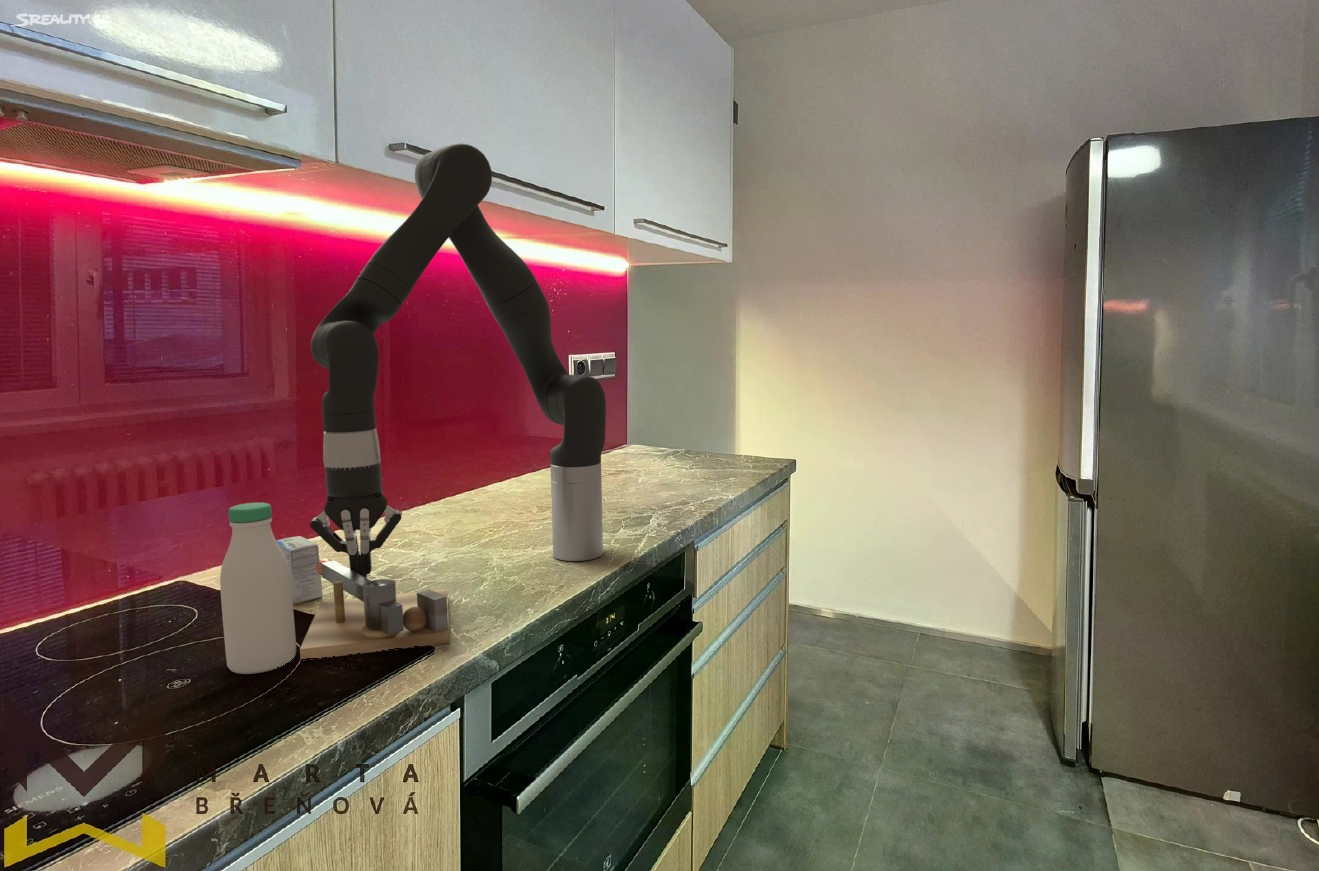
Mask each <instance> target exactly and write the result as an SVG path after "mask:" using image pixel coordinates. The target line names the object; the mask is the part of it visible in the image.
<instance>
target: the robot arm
mask: <svg viewBox="0 0 1319 871" xmlns="http://www.w3.org/2000/svg"><path fill="white" fill-rule="evenodd" d="M492 181H493V173H492V167H491V165H490V162H489V160H488V158H487V157H486V155H485V154H484V153H483V151H481V150H480V149H478V148H477V147H475V146H473V145H472V144H468V143H453V144H452V143H451V144H448V145H445V146H444V147H441V148H438V149H434V150H432V151H429V152H428V153H425V154H424V155H422V156H421V157H420V158H419V159H418V161H417V162H416V166H415V167H414V182H415V186H416V189H417V191H418V193H419V196H420V198H421V201H420V202H419V203H418V205H417V206H416V208H415V209H414V210H413V212H412V213H411V214H410V215H409V216H408V217H407V218H406V219H405V220H404V222H402V224H400V225H399V227H398V228H397V229H396V230H395V231H394V232H393V233H392V234H391V235H390V236H388V238H386V240H385V241H384V242H383V243H382V244H381V245H380V246H379V247H378V248H377V250H376V251H375V252H374V253H373V255H372V256H371V257H370V258H369V260H368V261H367V263H366V264H365V266H364V267H363V268H362V270H361V271H360V273H359V275H358V276H357V277H356V280H355V281H354V282H353V284H352V286H351V287H350V289H349V291H348V292H347V293H346V294H345V295H344V296H343V298H342V299H340V300H339V301H338V302H337V304H336V305H335V306H334V307H333V308H332V309H330V311H329V312H328V313H327V314H326V315H325V317H324V318H323V319H322V320H321V321H320V323H319V324H318V325H317V327H316V329H315V331H314V332H313V335H312V337H311V341H310V352H311V356H312V357H313V359H314V360H315V362H316V363H317V364H318V365H320V366H321V367H322V368H325V370H328V390H327V391H326V392H324V394H323V395H322V398H321V412H322V414H321V416H322V425H323V426H322V427H323V443H322V450H323V451H322V452H323V453H322V454H323V456H322V460H323V461H322V462H323V465H324V466H323V467H324V474H325V475H324V478H325V479H324V480H325V488H326V502H325V504H324V506H323V511H322V512H321V513H320V514H319V515H317V516H315V517H313V518H312V520H311V521H310V522H309V527H310V528H311V529H312V530H313V531H314V532H315V533H316V534H317V535H318V536H319V537H320V538H321V539H322V540H323V541H324V542H325V543H326V544H327V545H328V546H330V547H331V549H333V551H335V552H336V553H346V554H347V555H348V560H349V569H350V570H352V571H354V572H356V573H358V574H360V575H361V576H363V577H365V578H367V579H368V575H370V574H371V571H372V569H373V566H372V551H374V550H376V549H380V548H382V546H383V545H384V543H385V542H386V540H387V539H388V538H389V536H390V535H391V534H392V533H393V531H394V530H395V528H396V527H397V525H398V524H399V523H400V521H401V520H402V516H403V512H402V511H401V510H399V509H394V508H392V507H391V506H390V505H388V500H387V499H386V497H385V495H384V491H383V479H382V478H383V477H382V463H381V449H380V442H379V441H380V440H379V437H378V436H379V435H378V431H377V420H376V419H377V418H376V406H375V405H376V404H375V394H376V389H377V382H378V381H377V380H378V373H379V372H378V371H379V365H380V364H379V363H380V362H379V361H380V360H379V359H380V357H379V356H380V355H379V354H380V353H379V352H380V351H379V346H378V341H377V339H376V337H375V333H376V332H377V330H378V329H379V327H380V326H382V325H384V324H385V323H387V322H389V321H390V320H392V319H393V318H394V317H395V316H396V315H397V313H398V312H399V311H400V309H401V307H402V306H403V305H404V303H405V301H406V299H408V297H409V295H410V294H411V292H412V290H413V289H414V287H415V286H416V284H417V282H418V280H419V279H420V278H421V276H422V274H423V273H424V272H425V270H426V269H427V267H428V265H429V264H430V263H431V261H432V260H433V259H434V257H435V256H436V254H438V252H439V251H440V249H441V248H442V246H443V245H444V244H445V243H446V242H447V240H448V239H449V240H450V242H451V243H452V245H453V246H454V248H455V250H456V251H457V252H458V254H459V256H460V258H461V260H462V263H463V264H464V266H465V267H466V269H467V271H468V273H469V274H470V276H471V278H472V280H473V281H474V283H475V285H476V286H477V288H478V290H479V292H480V293H481V295H482V298H483V300H484V301H485V303H486V305H487V307H488V309H489V311H490V313H491V314H492V316H493V318H494V320H495V321H496V323H497V324H498V326H499V328H500V329H501V331H502V332H503V334H504V336H505V338H506V340H507V342H508V343H509V346H510V347H511V350H513V352H514V355H515V356H516V358H517V360H518V361H519V363H520V365H521V367H522V369H523V371H524V373H525V375H526V377H527V380H528V382H529V385H530V387H531V389H532V393H533V394H534V397H535V398H536V401H537V403H538V406H539V407H540V409H541V411H542V413H543V414H544V416H545V417H546V419H548V420H549V421H551V422H553V423H554V424H558V425H562V426H563V438H562V440H561V442H560V443H559V444H556V445H555V446H553V447H552V448H551V449H550V454H549V456H550V457H549V460H550V461H549V463H550V485H551V486H550V487H551V488H550V489H551V492H550V493H551V495H550V496H551V520H552V521H551V525H552V527H551V528H552V530H551V531H552V556H553V557H554V558H555V559H557V560H561V561H568V562H584V561H590V560H593V559H597V558H599V557H602V556H603V555H604V554H603V553H604V543H603V542H604V539H603V538H604V536H603V535H604V534H603V533H604V532H603V530H604V529H603V492H602V491H603V486H602V484H603V483H602V482H603V481H602V453H603V450H604V447H605V444H606V426H607V425H606V423H607V422H606V421H607V420H606V419H607V401H606V395H605V391H604V388H603V386H602V385H601V383H600V382H599V381H598V380H597V379H596V378H595V377H593V376H589V375H583V374H581V375H578V374H577V375H576V374H569V372H568V371H567V370H566V368H565V367H564V364H563V363H562V361H561V360H560V357H559V356H558V354H557V353H556V350H555V347H554V344H553V340H552V325H551V324H552V323H551V322H552V319H551V311H550V310H551V309H550V307H549V303H548V301H547V298H546V295H545V294H544V292H543V290H542V288H541V286H540V284H539V282H538V281H537V279H536V276H535V275H534V273H533V272H532V270H531V269H530V267H529V266H528V264H527V263H526V262H525V261H524V260H523V259H522V258H521V257H520V256H519V255H518V254H517V253H516V252H515V251H514V250H513V249H512V248H511V247H510V246H509V245H507V243H505V242H504V241H503V240H502V239H501V237H499V235H498V234H496V232H495V231H494V229H492V227H491V226H490V224H489V223H488V221H487V220H486V219H487V218H485V215H484V214H483V213H482V210H481V208H480V207H479V205H480V203H481V202H483V200H484V199H485V198H486V196H487V195H488V193H489V191H490V190H491V187H492ZM383 514H384V519H383V521H384V522H385V524H384V525H383V527H382V528H381V529H380V531H379V532H378V534H377V535H376V536H375V538H373V539H372V538H371V537H372V536H371V535H372V528H374V527H375V525H376V524H377V522H379V520H380V519H381V517H382V515H383ZM330 520H331V521H330ZM331 522H333V523H334V524H335V525H336V527H338V529H340V530H341V531H343V535H344V539H345V540H344V539H342V538H341V536H340V535H338V533H337V532H335V530H333V529H332V528H331V527H330V525H331ZM357 531H359V540H360V542H359V541H358V536H357ZM359 543H360V544H359ZM359 547H360V548H359ZM359 549H360V550H359Z"/></svg>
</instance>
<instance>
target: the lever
mask: <svg viewBox="0 0 1319 871" xmlns="http://www.w3.org/2000/svg"><path fill="white" fill-rule="evenodd" d="M316 571H317V573H318V574H319V575H321V578H323V579H324V580H326V581H328V582H329V583H332V584H333V583H334V582H338V581H342V582H343V592H346V593H347V594H349V595H351V596H352V597H353V598H357V599H359V600H361V601H362V602H364V612H365V626H366V627H367V628H369V629H381V630H382V631H384V632H385V633H387V634H388V635H389V634H393V633H396V632H400V631H403V630H404V626H403V609H402V605H401V604H400V603H398V602H396V594H397V590H396V589H397V588H396V581H395V580H394V579H391V578H380V579H374V580H371V579H369V578H368V577H367V578H365V577H363V576H361V575H360V574H358V573H356V572H354V571H352V570H350V567H349V568H348V567H347V566H344V565H343V564H341V563H339V562H337V561H336V560H332V559H329V558H323V559H320V561H319V562H318V563H317V565H316Z"/></svg>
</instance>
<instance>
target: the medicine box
mask: <svg viewBox="0 0 1319 871" xmlns="http://www.w3.org/2000/svg"><path fill="white" fill-rule="evenodd" d="M276 541H277V543H278V545H279V546H280V548H281V549H282V551H283V553H284V555H285V557H286V559H287V562H288V566H289V571H290V579H291V588H292V600H293V604H299V603H305V602H308V601H312V600H317V599H321V598H322V597H323V596H324V593H323V585H322V584H323V583H322V576H321V575H319V574H318V573H317V571H316V565H317V563H318V562H319V561H320V560H321V558H320V549H319V544H317V542H316V543H315V542H313V541H312V540H309V539H307V538H305V537H303V536H301V535H298V536H290V537H284V538H282V539H276Z"/></svg>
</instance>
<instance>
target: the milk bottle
mask: <svg viewBox="0 0 1319 871" xmlns="http://www.w3.org/2000/svg"><path fill="white" fill-rule="evenodd" d="M272 513H273V512H272V505H271V504H270V503H268V502H267V503H266V502H247V503H240V504H236V505H234V506H231V507H229V509H228V520H229V526H230V527H231V531H232V533H231V538H230V542H229V546H228V549H227V550H226V554H225V556H224V559H222V560H223V561H222V564H221V569H220V574H219V575H220V578H219V581H220V582H219V583H220V584H219V585H220V586H219V587H220V601H221V602H220V603H221V612H222V613H221V614H222V626H223V628H222V629H223V637H224V650H225V659H226V665H227V666H226V667H228V669H229V671H230V672H233V673H235V674H239V675H240V674H242V675H251V674H259V673H260V674H261V673H265V672H270V671H273V669H274V670H276V669H278V668H277V667H279V668H281V666H282V667H283V665H284V666H286V665H287V664H286V663H288V662H289V663H291V662H292V661H293V660H294V659H295V657H296V654H297V641H296V627H295V615H294V614H295V613H294V602H293V600H292V588H291V579H290V571H289V566H288V562H287V559H286V557H285V555H284V553H283V551H282V549H281V548H280V546H279V545H278V543H277V539H276V537H275V536H274V533H273V531H272V525H271V522H272V521H273V519H272V515H273V514H272ZM293 658H294V659H293ZM292 659H293V660H292ZM291 660H292V661H291ZM290 661H291V662H290ZM289 663H288V664H289ZM285 664H286V665H285Z"/></svg>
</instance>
